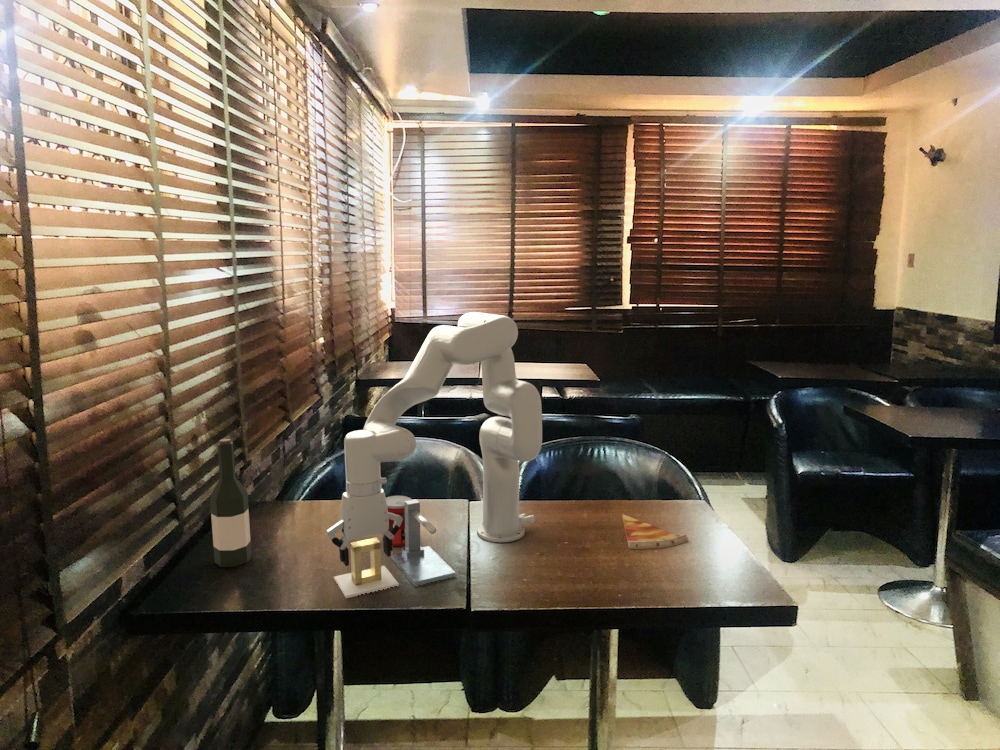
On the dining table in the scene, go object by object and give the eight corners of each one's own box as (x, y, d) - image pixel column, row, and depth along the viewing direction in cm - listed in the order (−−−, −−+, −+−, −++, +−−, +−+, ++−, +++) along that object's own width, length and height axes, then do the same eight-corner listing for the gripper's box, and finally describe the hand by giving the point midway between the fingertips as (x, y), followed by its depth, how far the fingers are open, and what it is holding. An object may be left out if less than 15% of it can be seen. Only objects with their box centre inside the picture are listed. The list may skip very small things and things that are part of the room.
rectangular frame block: (377, 574, 157) (376, 537, 155) (381, 579, 154) (380, 542, 153) (351, 580, 154) (350, 542, 152) (355, 585, 151) (354, 547, 150)
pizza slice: (677, 519, 193) (678, 512, 193) (691, 553, 171) (692, 546, 171) (622, 516, 195) (622, 510, 194) (628, 550, 173) (629, 543, 173)
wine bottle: (206, 564, 163) (197, 442, 157) (231, 549, 170) (223, 433, 165) (235, 569, 160) (226, 446, 154) (258, 555, 168) (251, 437, 162)
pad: (384, 567, 161) (384, 565, 161) (398, 586, 153) (398, 583, 153) (334, 578, 156) (333, 576, 156) (346, 598, 147) (346, 595, 147)
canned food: (407, 548, 172) (406, 507, 170) (377, 545, 173) (376, 504, 171) (417, 536, 179) (416, 496, 177) (388, 533, 181) (387, 494, 179)
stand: (428, 550, 171) (428, 495, 168) (455, 577, 157) (455, 518, 154) (390, 558, 166) (389, 502, 164) (414, 586, 152) (413, 526, 150)
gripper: (395, 475, 157) (397, 544, 161) (320, 487, 149) (324, 560, 153) (406, 485, 151) (408, 557, 154) (328, 499, 143) (332, 574, 146)
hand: (366, 558), depth 153 cm, fingers open, 9 cm apart
